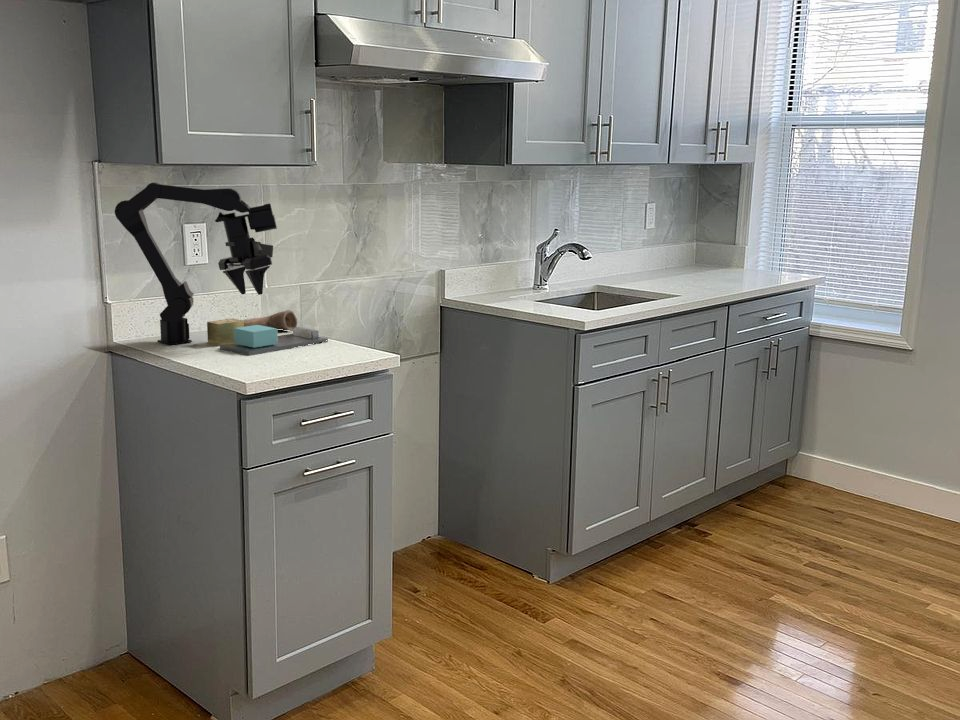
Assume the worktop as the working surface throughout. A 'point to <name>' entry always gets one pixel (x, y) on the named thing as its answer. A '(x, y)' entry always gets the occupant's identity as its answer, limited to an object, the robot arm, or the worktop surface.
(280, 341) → the vise
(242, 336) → the slide jaw
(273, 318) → the pipe
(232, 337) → the brass block
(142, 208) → the robot arm
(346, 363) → the worktop surface
